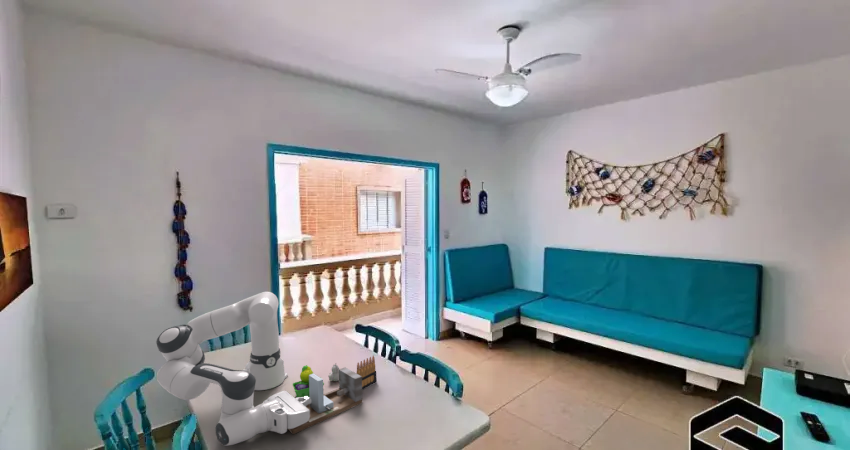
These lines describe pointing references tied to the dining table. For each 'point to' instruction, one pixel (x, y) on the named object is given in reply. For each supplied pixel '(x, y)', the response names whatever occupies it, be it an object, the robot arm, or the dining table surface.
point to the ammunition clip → (367, 372)
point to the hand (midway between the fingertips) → (309, 399)
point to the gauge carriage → (318, 395)
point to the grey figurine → (334, 373)
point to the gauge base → (337, 399)
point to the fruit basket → (303, 382)
